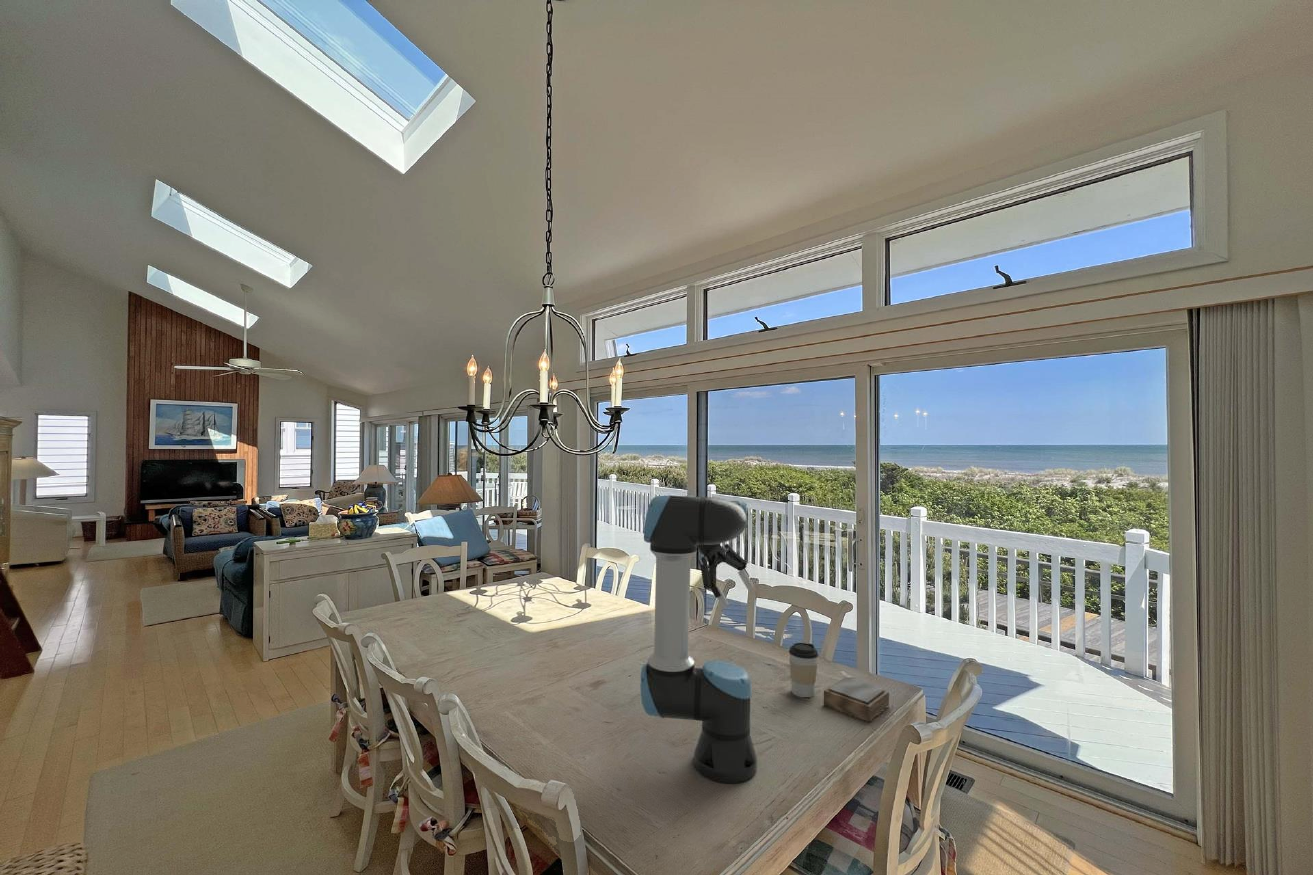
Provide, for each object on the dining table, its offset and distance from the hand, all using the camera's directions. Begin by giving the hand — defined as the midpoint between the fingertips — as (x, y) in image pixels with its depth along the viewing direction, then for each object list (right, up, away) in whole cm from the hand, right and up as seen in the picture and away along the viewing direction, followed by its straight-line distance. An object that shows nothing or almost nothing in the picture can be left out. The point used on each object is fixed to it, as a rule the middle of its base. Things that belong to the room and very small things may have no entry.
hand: (738, 596), depth 173 cm
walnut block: (+34, -30, -11) cm, 46 cm away
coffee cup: (+20, -30, -3) cm, 36 cm away
